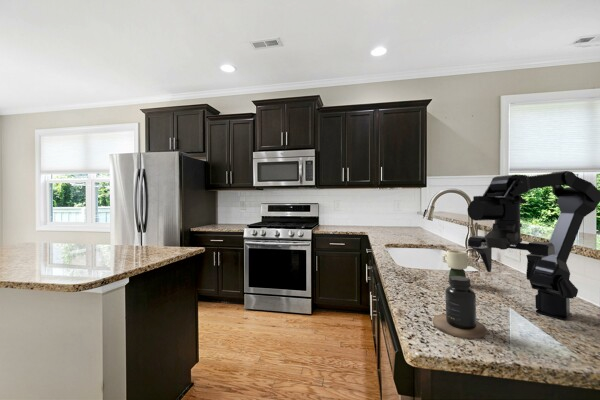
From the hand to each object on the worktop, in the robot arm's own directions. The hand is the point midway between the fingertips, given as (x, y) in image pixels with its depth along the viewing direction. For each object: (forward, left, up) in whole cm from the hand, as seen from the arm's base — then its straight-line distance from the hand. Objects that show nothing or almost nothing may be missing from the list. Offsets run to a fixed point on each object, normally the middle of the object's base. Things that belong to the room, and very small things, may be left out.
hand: (507, 275), depth 76 cm
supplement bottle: (+4, +17, -11) cm, 21 cm away
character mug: (+24, -20, -12) cm, 34 cm away
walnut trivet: (+5, +17, -12) cm, 21 cm away
